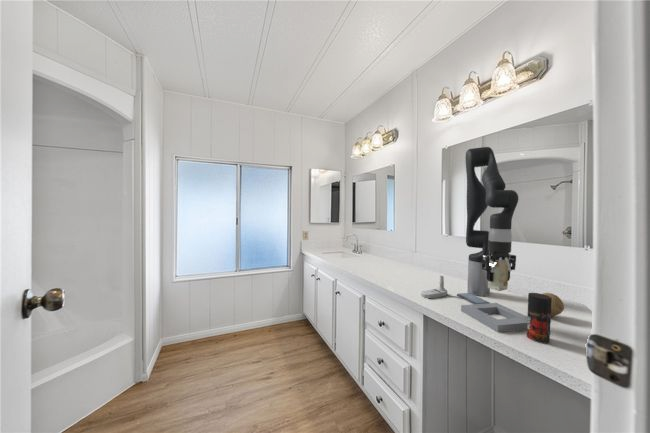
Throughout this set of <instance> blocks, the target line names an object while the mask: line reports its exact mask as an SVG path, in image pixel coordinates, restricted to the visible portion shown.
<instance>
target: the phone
mask: <svg viewBox="0 0 650 433" xmlns="http://www.w3.org/2000/svg"><path fill="white" fill-rule="evenodd" d="M456 296H457V297H459V298H461V299H462V300H465V301H467V302H468V303H470V304H486V303H491V302H489V301H487V300H485V299H483V298H481V297H478V295H473V294H470V293H469V292H464V293H463V292H462V293H457V294H456Z"/></svg>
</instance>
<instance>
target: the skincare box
mask: <svg viewBox="0 0 650 433" xmlns="http://www.w3.org/2000/svg"><path fill="white" fill-rule="evenodd" d="M496 261H497V268H495V269H494V271H493V273H494V274H493V282H490V281H488V288H490V290H494V291H497V292H502V291H506V290H508V283H509V281H508V267H507V264H506V263H507V262H506V260H496ZM496 261H495V262H496ZM495 262H493V260H492V259H491V260H490V264H495ZM508 262H509V260H508ZM491 267H492V266H490V269H491Z"/></svg>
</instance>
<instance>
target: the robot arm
mask: <svg viewBox="0 0 650 433" xmlns="http://www.w3.org/2000/svg"><path fill="white" fill-rule="evenodd" d="M480 167H481V168H482V167H486V168H485V170H484V172H483V173H482V175H481V181H480V179H479V178H478V177H477V174H476V169H475V168H480ZM465 172H466V231H465V232H466V233H465V243H466V246H467V247H469V248H475V249H477V248H478V249H481V250H480V251H477V252H474V253H471V254H469V255H468V259H467V260H468V263H467V293H470V294H472V295H474V296H477V297H478V296H480V297H487V296H489V295H490V293H491V289H490V288H488V281H490V282H493V274H494V273H493V271H494V269H495V268H497V261H496V260H506V262H507V263H506V264H507V267H508V282H509V281H510V279H511V272H512V271H515V270H516V263H517V255H515V254H511V253H512V239H513V238H512V236H513V235H512V222H513V221H512V220H513V216H514V213H515V211H516V208H517V206H518V203H519V194H518V193H517V191H516V190H513V189H506V183H505V181H504V179H503V177H502V176H501V174H500V171H499V166H498V164H497V160H496V156H495V153H494V150H493V149H492V148H491V147H490V146H481V147H474V148H469V149H467V150H466V152H465ZM488 207H489V208H493V209H495V208H497V209H500V208H501V209H503V210H502V211H501V212H496V213H493V214H491V215H490V217H489V230H479V229H478V230H477V229H475V225H476V223H477V221H478V220H479V219H480V218H481V216H482V215H483V214H484V212H485V211H486V210H487V208H488ZM491 259H492V260H493V262H495V261H496V262H495V264H490V260H491ZM508 260H509V262H508ZM490 266H492V267H491V269H490Z"/></svg>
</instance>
